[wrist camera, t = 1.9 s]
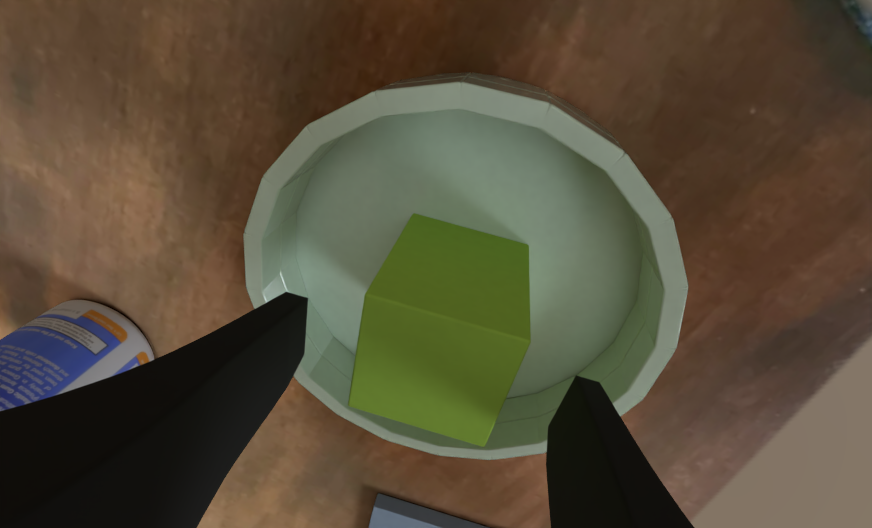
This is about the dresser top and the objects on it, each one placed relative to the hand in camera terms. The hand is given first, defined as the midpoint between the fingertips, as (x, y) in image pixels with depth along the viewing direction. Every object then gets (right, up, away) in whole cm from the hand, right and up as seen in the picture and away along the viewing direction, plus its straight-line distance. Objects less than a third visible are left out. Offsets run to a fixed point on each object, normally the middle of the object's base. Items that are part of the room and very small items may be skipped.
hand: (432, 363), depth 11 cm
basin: (+1, +2, +4) cm, 5 cm away
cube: (+1, +2, +4) cm, 4 cm away
